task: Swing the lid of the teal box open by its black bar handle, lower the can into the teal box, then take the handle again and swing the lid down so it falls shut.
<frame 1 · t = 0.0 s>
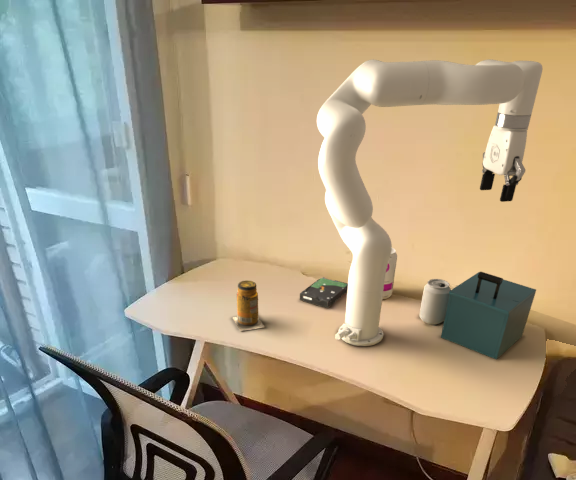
hand: (495, 195, 138), 37 cm above the table, tool pointing down, fingers open, 9 cm apart
lid: (495, 281, 143), point 17 cm above the table, hinge at -0.1°
supplement can: (378, 295, 174), on the table
teal box: (481, 337, 153), on the table
disk drive: (324, 296, 173), on the table
can: (431, 320, 161), on the table
condiment: (248, 323, 158), on the table
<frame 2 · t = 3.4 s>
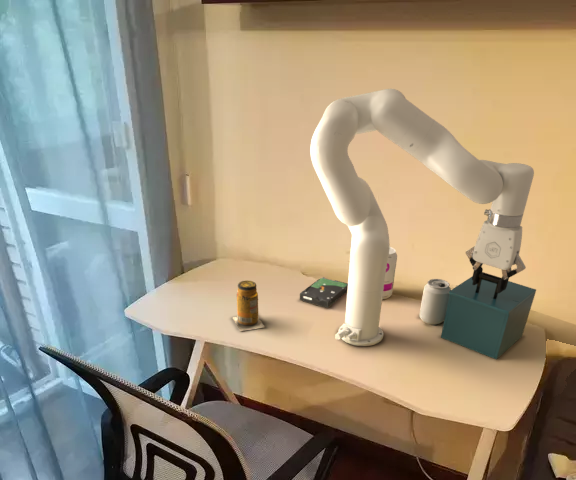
hand: (488, 286, 141), 17 cm above the table, tool pointing down, fingers closed on lid, 6 cm apart
lid: (495, 281, 143), point 17 cm above the table, hinge at -0.1°, touching gripper
everything else where it was.
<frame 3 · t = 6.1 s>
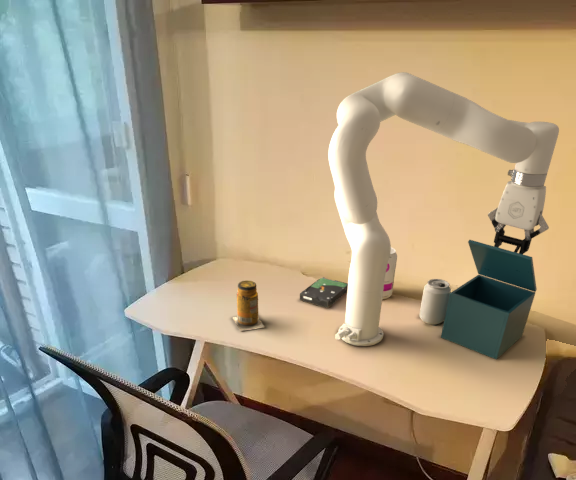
hand: (510, 249, 141), 25 cm above the table, tool pointing down, fingers closed on lid, 6 cm apart
lid: (508, 256, 143), point 23 cm above the table, hinge at 47.2°, touching gripper
everything else where it was.
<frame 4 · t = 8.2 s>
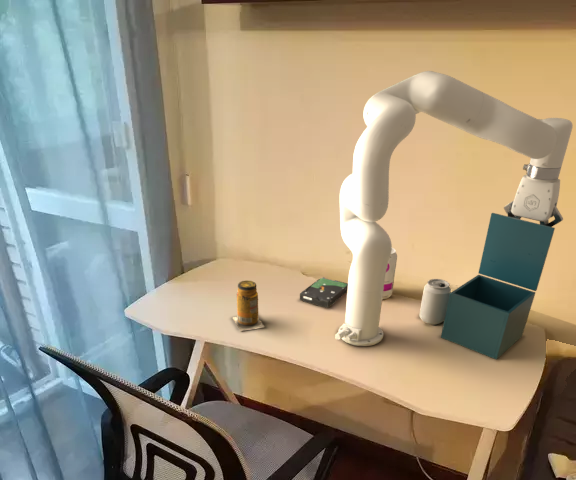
hand: (525, 240, 148), 24 cm above the table, tool pointing down, fingers closed on lid, 6 cm apart
lid: (518, 248, 146), point 23 cm above the table, hinge at 87.7°, touching gripper
everything else where it was.
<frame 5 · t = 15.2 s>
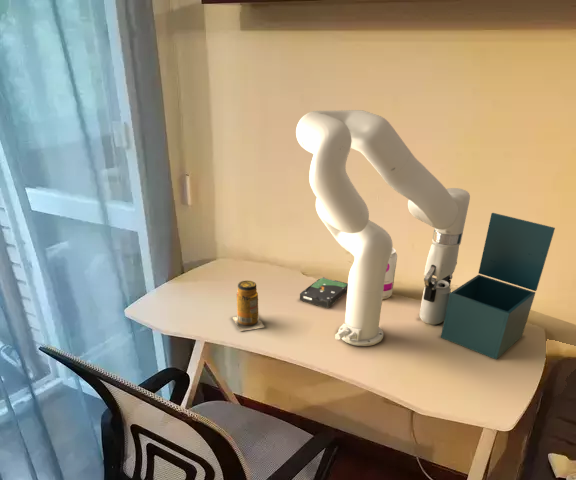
hand: (436, 295, 157), 8 cm above the table, tool pointing down, fingers closed on can, 7 cm apart
lid: (518, 248, 147), point 23 cm above the table, hinge at 87.9°
can: (431, 320, 161), on the table, touching gripper
everything else where it was.
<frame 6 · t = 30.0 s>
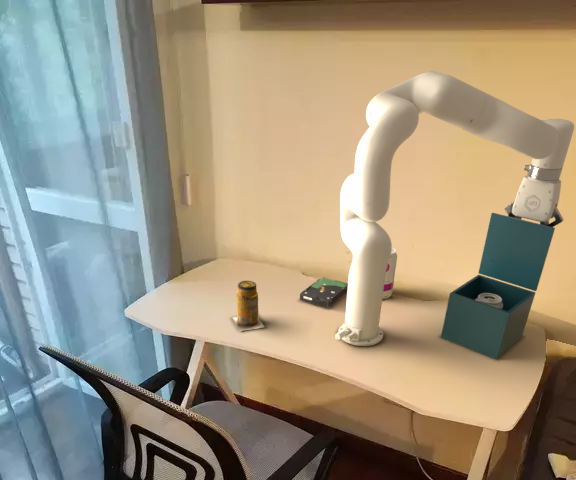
hand: (525, 240, 148), 24 cm above the table, tool pointing down, fingers closed on lid, 6 cm apart
lid: (518, 248, 147), point 23 cm above the table, hinge at 87.9°, touching gripper
can: (480, 336, 152), point 1 cm above the table, touching teal box
everything else where it was.
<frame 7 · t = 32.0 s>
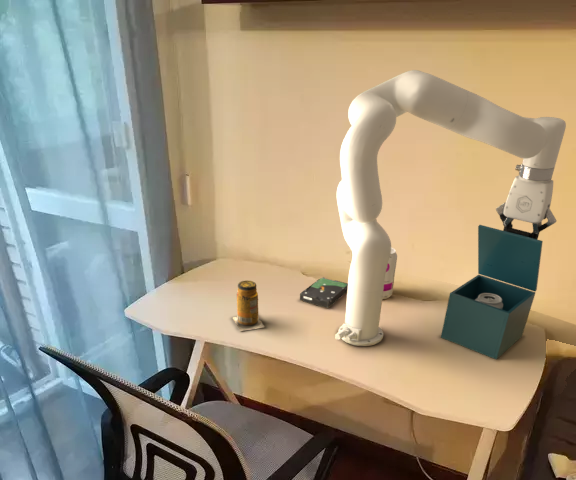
hand: (518, 242, 144), 25 cm above the table, tool pointing down, fingers closed on lid, 6 cm apart
lid: (513, 251, 144), point 23 cm above the table, hinge at 64.5°, touching gripper
everything else where it was.
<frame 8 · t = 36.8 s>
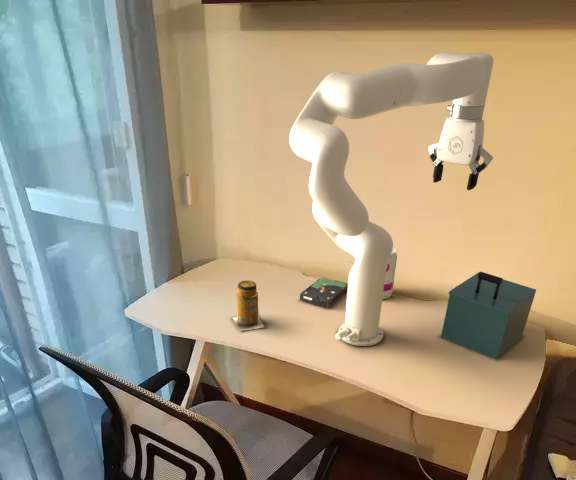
hand: (453, 185, 141), 38 cm above the table, tool pointing down, fingers open, 9 cm apart
lid: (495, 281, 143), point 17 cm above the table, hinge at -0.1°
everything else where it was.
at the end: lid reached +88° during the clip, +0° at the end; can inside the target area in the teal box (1.0 cm from its centre), point 0.6 cm above the teal box's base; lid at +0° (first picture: +0°) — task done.
